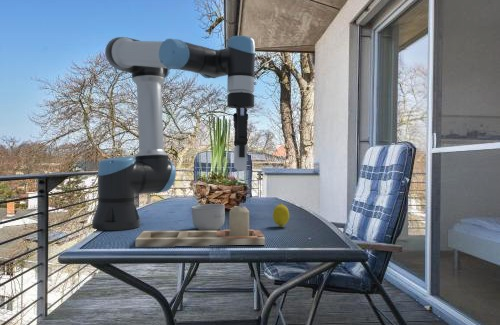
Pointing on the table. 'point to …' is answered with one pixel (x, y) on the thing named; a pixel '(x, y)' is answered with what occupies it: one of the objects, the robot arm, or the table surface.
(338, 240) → the table surface
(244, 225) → the candle
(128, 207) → the robot arm
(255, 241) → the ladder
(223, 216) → the teacup
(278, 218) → the lemon
